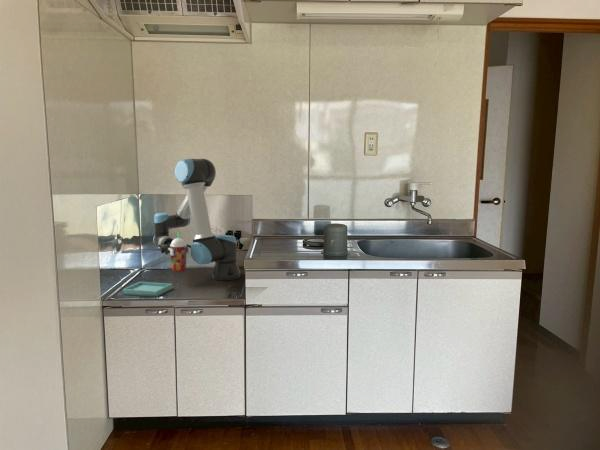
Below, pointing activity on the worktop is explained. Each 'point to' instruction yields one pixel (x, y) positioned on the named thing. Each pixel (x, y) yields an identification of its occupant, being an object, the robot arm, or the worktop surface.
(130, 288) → the tray
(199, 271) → the worktop surface
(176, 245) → the smoothie
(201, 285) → the worktop surface
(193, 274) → the worktop surface
